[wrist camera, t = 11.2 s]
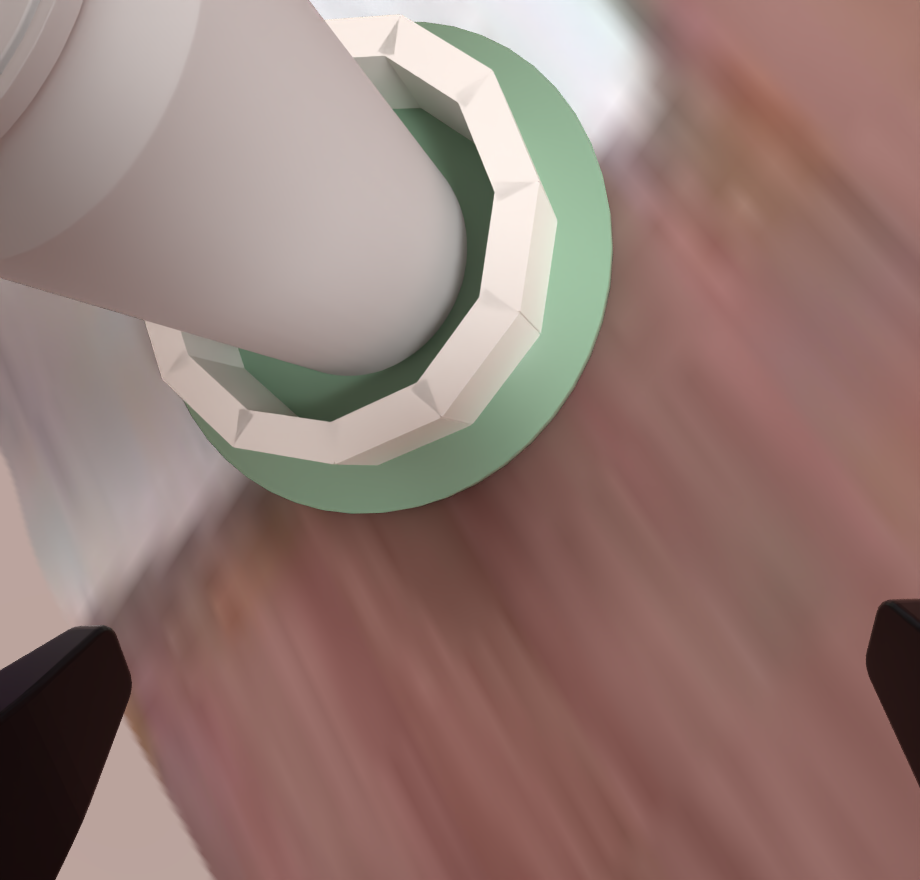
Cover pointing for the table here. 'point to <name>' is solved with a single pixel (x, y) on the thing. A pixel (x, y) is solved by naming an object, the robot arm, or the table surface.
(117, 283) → the beverage can
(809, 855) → the table surface
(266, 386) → the cup
